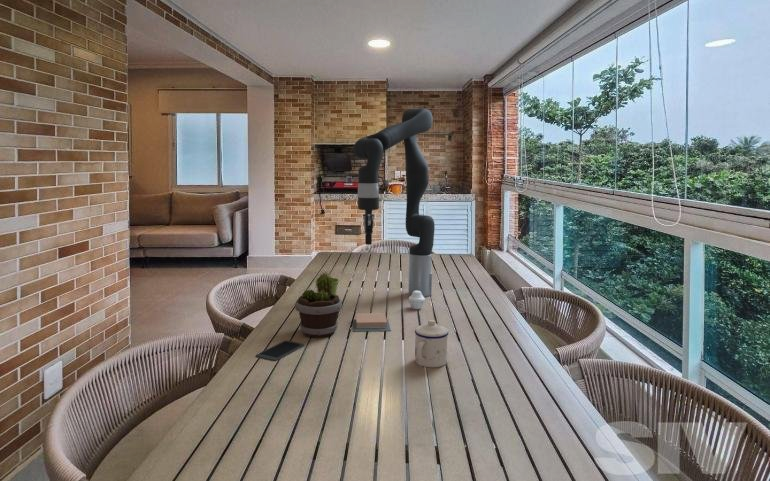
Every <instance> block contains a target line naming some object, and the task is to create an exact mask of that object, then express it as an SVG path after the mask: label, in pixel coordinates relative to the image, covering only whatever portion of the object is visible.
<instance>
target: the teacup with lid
mask: <svg viewBox="0 0 770 481" xmlns="http://www.w3.org/2000/svg"><path fill="white" fill-rule="evenodd" d="M427 321H428V322H426V323H424V324H421V325H418V326H417V327H416V328H415V330H414V333H415V339H414V340H415V343H414V344H415V346H414V347H415V348H414V349H415V350H414V361H415V363H416V364H417V365H419V366H421V367H425V368H440V367H443V366H444V365H446V364H447V359H448V358H447V357H448V335H449V330H448V328H446V327H445V326H442V325H440V324H438V323H436V322H437V321H436V320H434V319H429V320H427Z"/></svg>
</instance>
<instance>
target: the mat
mask: <svg viewBox="0 0 770 481" xmlns="http://www.w3.org/2000/svg"><path fill="white" fill-rule="evenodd" d="M386 320H387V328H357V327H356V318H355V319H353V320H352V324H353V332H357V333H358V332H391V331H392V330H391V326H390V323H389V319H388V318H386Z"/></svg>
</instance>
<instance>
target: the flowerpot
mask: <svg viewBox="0 0 770 481" xmlns="http://www.w3.org/2000/svg"><path fill="white" fill-rule="evenodd" d="M330 278H334V277H333V276H331V275H330V274H329V272H327V271H324V272H322V274H319V275H317V277H316V278H315V280H314V282H315V281H316V279H318V280H317V281H316V282H317V285H316V282H315V284H314V286H315V288H316V292H315V290H313V289H311V287H308V289H306V290H305V289H303V293H302V295H301V296H299V297H298V299H297V300H296V302H295V304H294V308H295V311H297V312H298V315H299V320H300V324H299V328H300V330H301V332H302V333H303V335H304V336H306V337H309V338H310V337H311V338H317V337H320V338H325V337H330V336H332V335H334V334H335V332H336V331H337V329H338V325H339V322H338V320H337V319H338V317H339V311H340V310H342V307H343V301H342V300H341V298H340V297H339V295H338V294H337V295H334V294H332V292H331V289H333V287H332V285H331V284H332V283H333V281H334V280H331V279H330ZM331 281H332V282H331ZM317 287H318V288H317ZM331 287H332V288H331Z"/></svg>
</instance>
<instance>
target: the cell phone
mask: <svg viewBox="0 0 770 481" xmlns="http://www.w3.org/2000/svg"><path fill="white" fill-rule="evenodd" d="M303 347H305V344H304V343H301V342H296V341H291V340H283V341H281V342H279V343H277V344H275V345H273V346H271V347H269V348H267V349H265V350H263V351H261V352H259V353H257V354H256V355H255V357H256V358H258V359H263V360H267V361H272V362H277V361H279V360H281V359H283V358H285V357H287V356H289V355H292V353H294V352H296V351H297V350H299V349H301V348H303Z"/></svg>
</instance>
